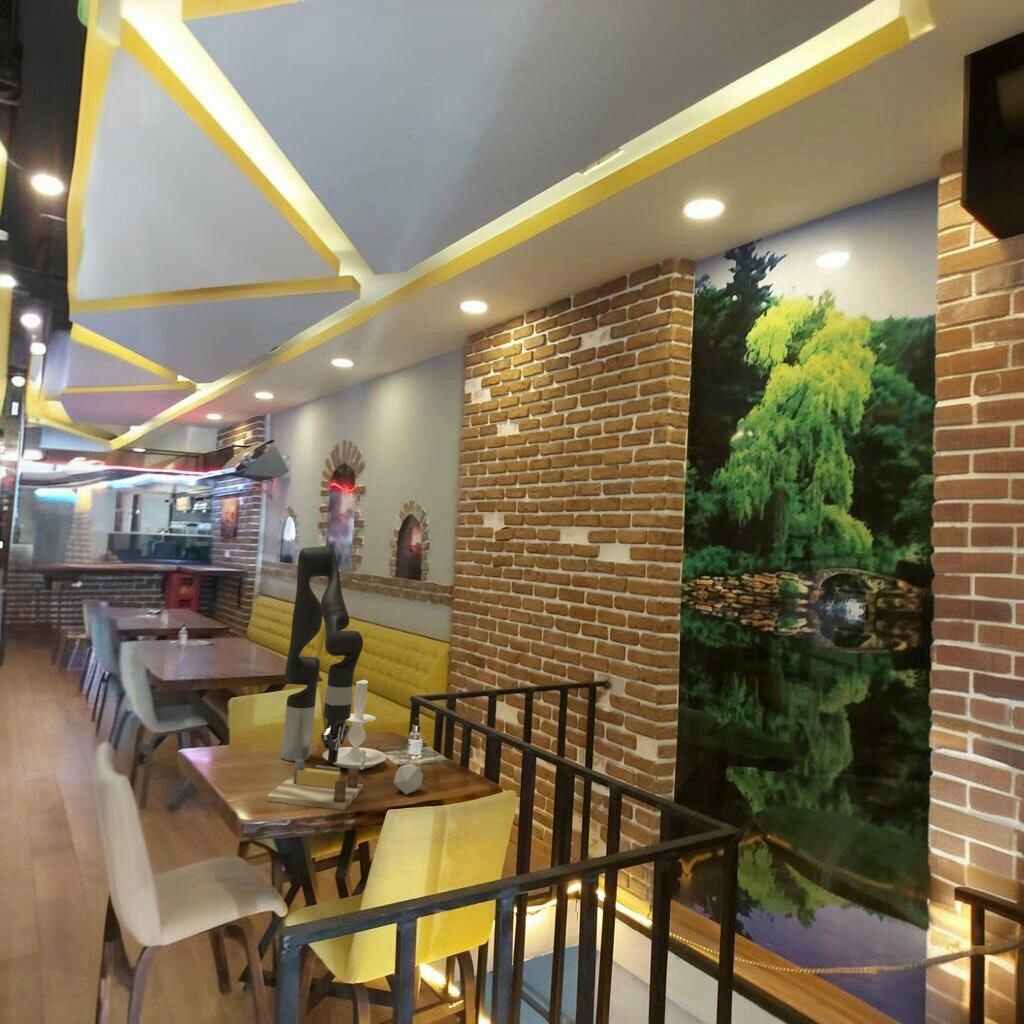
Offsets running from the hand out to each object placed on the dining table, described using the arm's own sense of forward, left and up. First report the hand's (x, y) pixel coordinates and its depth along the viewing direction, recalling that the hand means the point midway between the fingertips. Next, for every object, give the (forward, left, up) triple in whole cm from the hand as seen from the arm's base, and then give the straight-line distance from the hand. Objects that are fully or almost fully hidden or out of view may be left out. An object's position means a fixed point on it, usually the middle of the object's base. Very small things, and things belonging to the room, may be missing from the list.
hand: (332, 762), depth 214 cm
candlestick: (-32, -1, -11) cm, 33 cm away
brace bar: (-6, -6, -9) cm, 12 cm away
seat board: (-2, -4, -10) cm, 11 cm away
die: (-14, +20, -11) cm, 26 cm away
